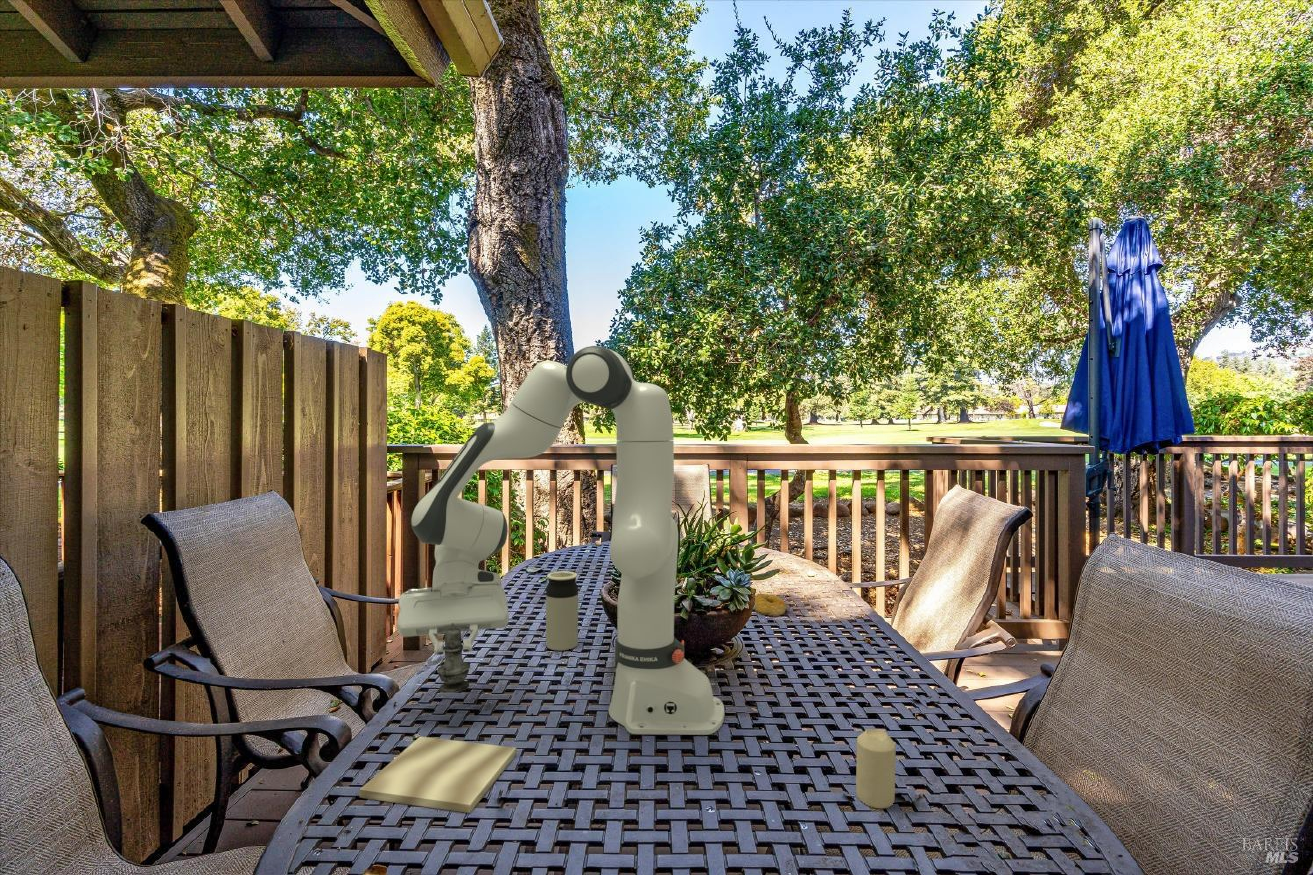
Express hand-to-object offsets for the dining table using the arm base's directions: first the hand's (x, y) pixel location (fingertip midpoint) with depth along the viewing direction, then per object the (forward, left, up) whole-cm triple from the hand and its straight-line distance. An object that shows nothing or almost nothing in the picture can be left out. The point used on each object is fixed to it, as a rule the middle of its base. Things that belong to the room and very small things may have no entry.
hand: (453, 651), depth 114 cm
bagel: (-56, -84, -14) cm, 102 cm away
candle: (-73, +6, -14) cm, 75 cm away
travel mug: (-5, -44, -14) cm, 46 cm away
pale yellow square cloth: (-6, +14, -14) cm, 21 cm away
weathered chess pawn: (0, -1, -7) cm, 7 cm away
